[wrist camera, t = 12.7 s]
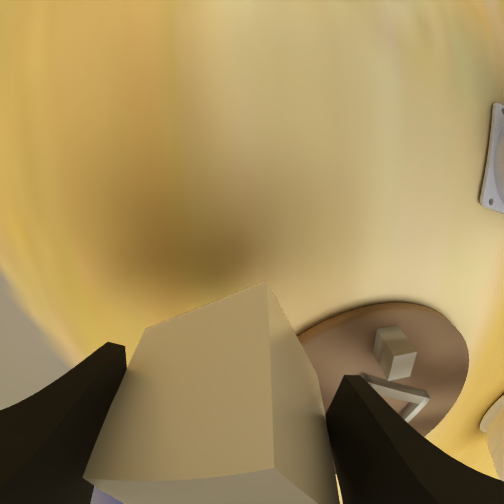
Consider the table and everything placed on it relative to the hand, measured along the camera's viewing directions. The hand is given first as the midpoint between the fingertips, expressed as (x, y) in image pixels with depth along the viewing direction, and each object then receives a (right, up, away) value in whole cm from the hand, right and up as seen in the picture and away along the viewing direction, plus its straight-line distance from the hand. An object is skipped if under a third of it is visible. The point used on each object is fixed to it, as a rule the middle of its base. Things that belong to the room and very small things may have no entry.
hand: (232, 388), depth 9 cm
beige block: (-1, 0, +2) cm, 3 cm away
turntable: (+10, -8, +14) cm, 19 cm away
